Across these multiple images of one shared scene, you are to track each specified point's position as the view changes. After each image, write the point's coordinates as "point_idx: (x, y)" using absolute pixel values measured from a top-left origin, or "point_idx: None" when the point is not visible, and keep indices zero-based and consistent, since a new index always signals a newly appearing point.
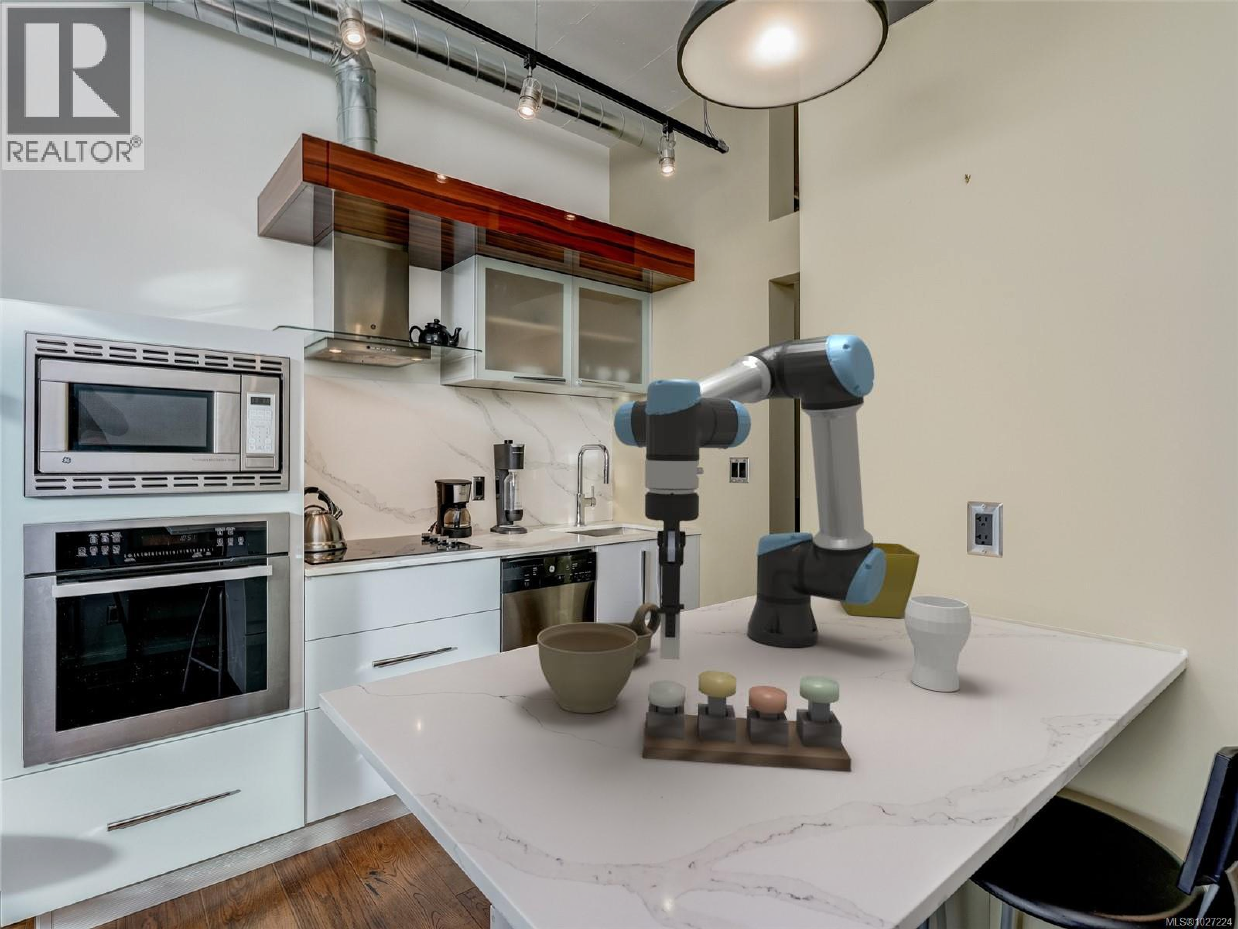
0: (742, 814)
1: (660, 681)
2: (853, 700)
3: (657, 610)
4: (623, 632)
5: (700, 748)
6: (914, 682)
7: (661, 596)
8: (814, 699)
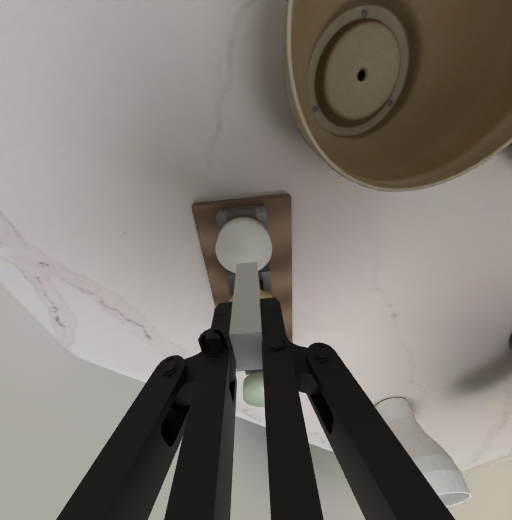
0: (132, 293)
1: (265, 239)
2: (359, 365)
3: (200, 341)
4: (498, 136)
5: (209, 265)
6: (391, 399)
7: (316, 356)
8: (244, 382)
